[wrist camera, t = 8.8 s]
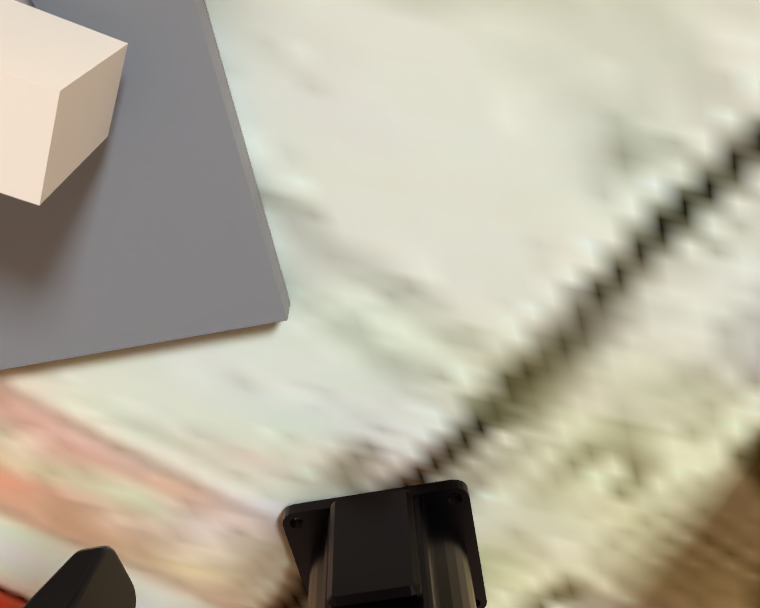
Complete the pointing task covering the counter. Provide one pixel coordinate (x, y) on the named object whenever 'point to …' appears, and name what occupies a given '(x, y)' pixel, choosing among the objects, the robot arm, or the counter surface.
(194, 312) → the dial board
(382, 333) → the counter surface
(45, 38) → the peg knob
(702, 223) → the counter surface
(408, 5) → the counter surface
